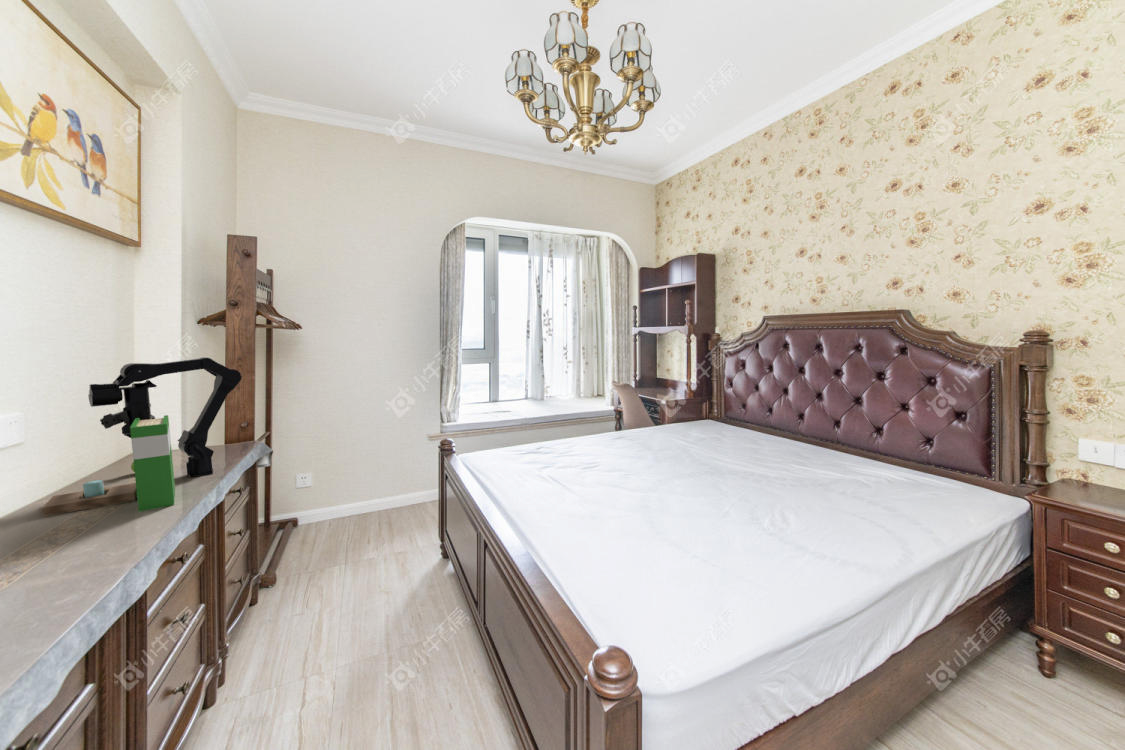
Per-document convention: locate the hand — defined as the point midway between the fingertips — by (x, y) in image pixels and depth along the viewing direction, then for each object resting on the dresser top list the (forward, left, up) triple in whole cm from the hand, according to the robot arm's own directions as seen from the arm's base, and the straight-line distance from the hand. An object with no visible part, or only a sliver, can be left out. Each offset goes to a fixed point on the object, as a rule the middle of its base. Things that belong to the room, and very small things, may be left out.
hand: (142, 449), depth 141 cm
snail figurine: (+2, -18, -12) cm, 22 cm away
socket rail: (+10, +10, -12) cm, 19 cm away
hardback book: (-4, +19, -12) cm, 23 cm away
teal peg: (+10, +10, -12) cm, 19 cm away
